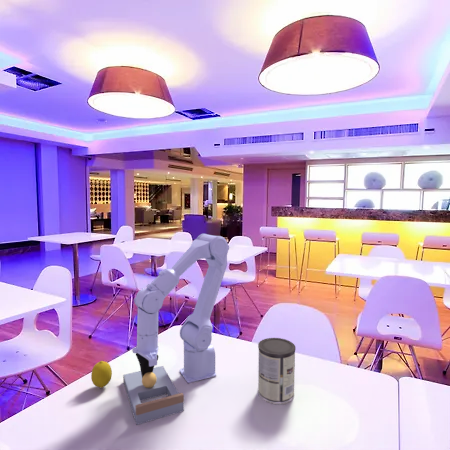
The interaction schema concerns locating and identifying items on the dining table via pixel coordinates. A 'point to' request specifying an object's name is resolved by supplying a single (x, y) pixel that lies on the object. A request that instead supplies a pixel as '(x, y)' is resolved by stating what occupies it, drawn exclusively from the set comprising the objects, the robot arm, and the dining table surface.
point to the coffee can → (276, 370)
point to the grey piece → (155, 407)
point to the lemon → (101, 374)
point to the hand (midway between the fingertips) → (146, 378)
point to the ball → (149, 380)
